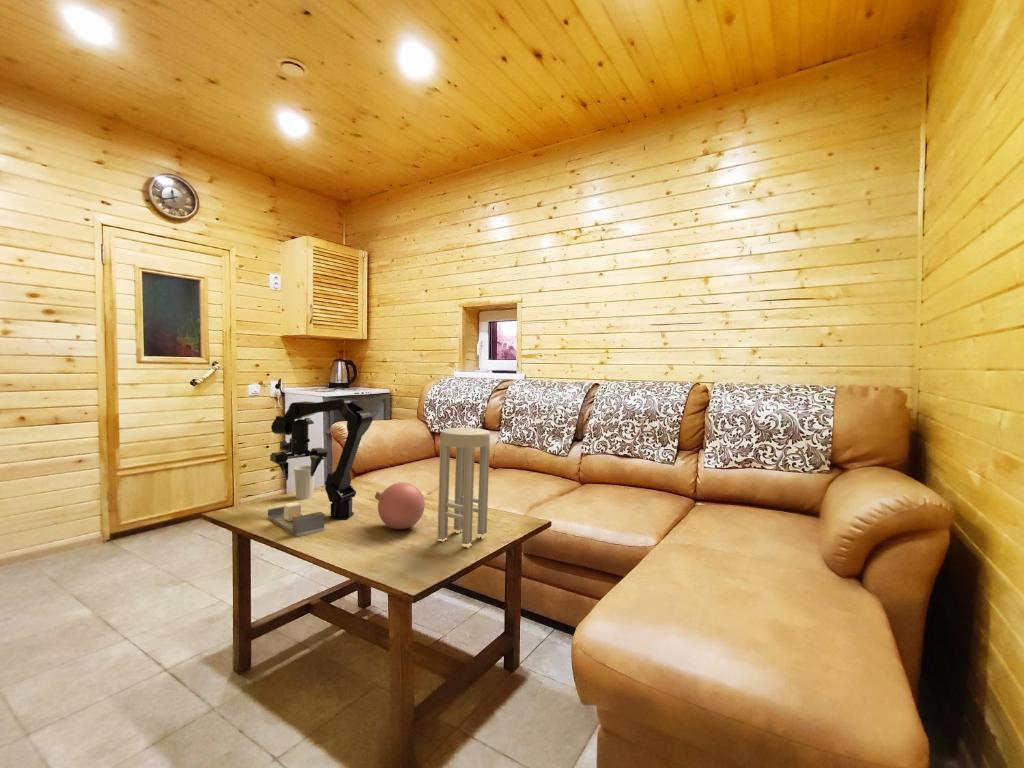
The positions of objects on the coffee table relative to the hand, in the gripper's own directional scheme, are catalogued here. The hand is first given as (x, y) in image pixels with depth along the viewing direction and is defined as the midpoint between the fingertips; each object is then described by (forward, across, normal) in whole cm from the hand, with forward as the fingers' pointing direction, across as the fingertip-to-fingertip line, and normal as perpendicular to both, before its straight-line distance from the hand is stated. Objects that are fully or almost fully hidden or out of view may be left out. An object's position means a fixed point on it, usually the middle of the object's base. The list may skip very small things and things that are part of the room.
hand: (299, 478), depth 175 cm
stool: (+12, -27, +61) cm, 68 cm away
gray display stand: (+12, +7, +14) cm, 19 cm away
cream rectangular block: (+11, +7, +14) cm, 19 cm away
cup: (+12, -8, -15) cm, 21 cm away
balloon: (+12, -17, +38) cm, 43 cm away
